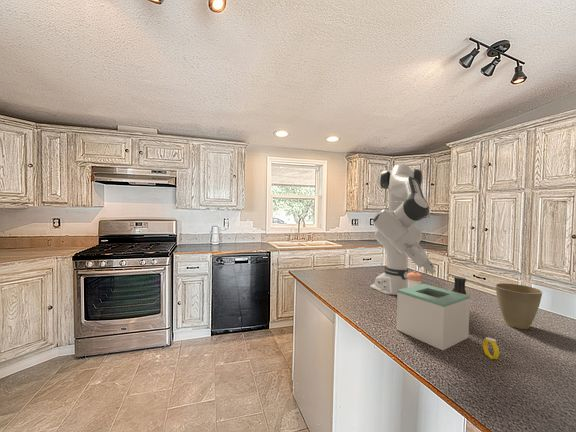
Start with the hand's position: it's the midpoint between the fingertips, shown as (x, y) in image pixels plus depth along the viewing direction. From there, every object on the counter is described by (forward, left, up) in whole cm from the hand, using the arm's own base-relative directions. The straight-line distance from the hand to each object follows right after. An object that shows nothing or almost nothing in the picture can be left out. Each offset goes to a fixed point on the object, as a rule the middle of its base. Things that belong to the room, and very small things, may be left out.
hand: (433, 270), depth 101 cm
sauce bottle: (+1, +18, -25) cm, 31 cm away
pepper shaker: (-17, +15, -25) cm, 34 cm away
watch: (+19, +1, -25) cm, 32 cm away
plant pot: (+14, +39, -25) cm, 48 cm away
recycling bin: (0, 0, -25) cm, 25 cm away
